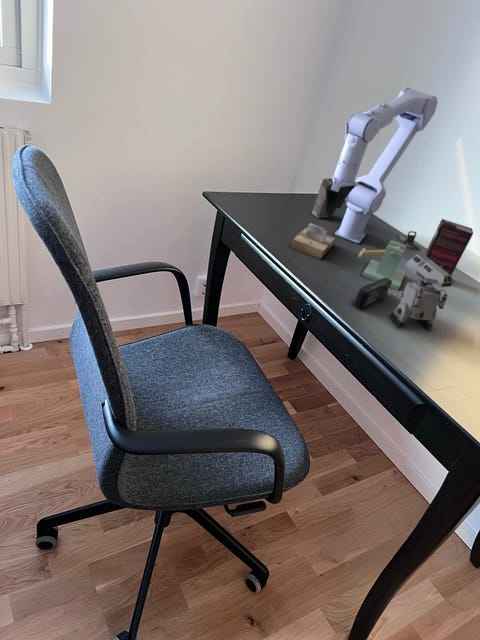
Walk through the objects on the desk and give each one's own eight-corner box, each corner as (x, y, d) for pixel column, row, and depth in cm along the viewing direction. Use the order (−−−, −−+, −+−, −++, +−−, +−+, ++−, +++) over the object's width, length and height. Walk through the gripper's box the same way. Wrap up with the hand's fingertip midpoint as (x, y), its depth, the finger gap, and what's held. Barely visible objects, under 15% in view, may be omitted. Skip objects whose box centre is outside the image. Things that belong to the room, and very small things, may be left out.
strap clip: (397, 236, 156) (402, 225, 153) (405, 237, 157) (410, 225, 154) (410, 249, 149) (416, 237, 147) (418, 249, 150) (424, 237, 148)
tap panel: (303, 234, 140) (306, 226, 138) (333, 246, 137) (336, 238, 136) (289, 246, 130) (292, 238, 129) (321, 259, 128) (324, 251, 126)
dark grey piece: (368, 294, 107) (398, 277, 117) (357, 287, 108) (388, 271, 118) (360, 311, 110) (390, 294, 120) (350, 305, 111) (380, 288, 121)
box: (319, 219, 153) (331, 183, 146) (310, 213, 156) (322, 177, 149) (332, 218, 157) (344, 183, 150) (324, 212, 159) (335, 178, 153)
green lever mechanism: (362, 275, 125) (375, 244, 120) (370, 262, 133) (382, 233, 128) (398, 290, 123) (413, 259, 118) (404, 276, 131) (418, 246, 126)
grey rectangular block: (305, 235, 133) (308, 223, 130) (306, 234, 134) (310, 221, 132) (322, 242, 131) (327, 230, 129) (324, 241, 132) (328, 229, 130)
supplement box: (446, 277, 137) (473, 228, 128) (446, 284, 133) (474, 233, 124) (417, 267, 138) (441, 217, 129) (416, 274, 134) (442, 223, 125)
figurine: (409, 305, 117) (436, 252, 109) (433, 333, 108) (465, 278, 100) (378, 303, 115) (402, 248, 106) (400, 332, 106) (429, 275, 97)
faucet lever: (358, 260, 126) (357, 252, 125) (362, 253, 131) (362, 245, 130) (398, 259, 122) (398, 250, 121) (401, 252, 126) (401, 244, 125)
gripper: (357, 172, 117) (339, 222, 124) (369, 163, 128) (352, 209, 136) (331, 162, 119) (314, 212, 126) (345, 154, 130) (329, 200, 138)
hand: (332, 210), depth 131 cm, fingers open, 7 cm apart
